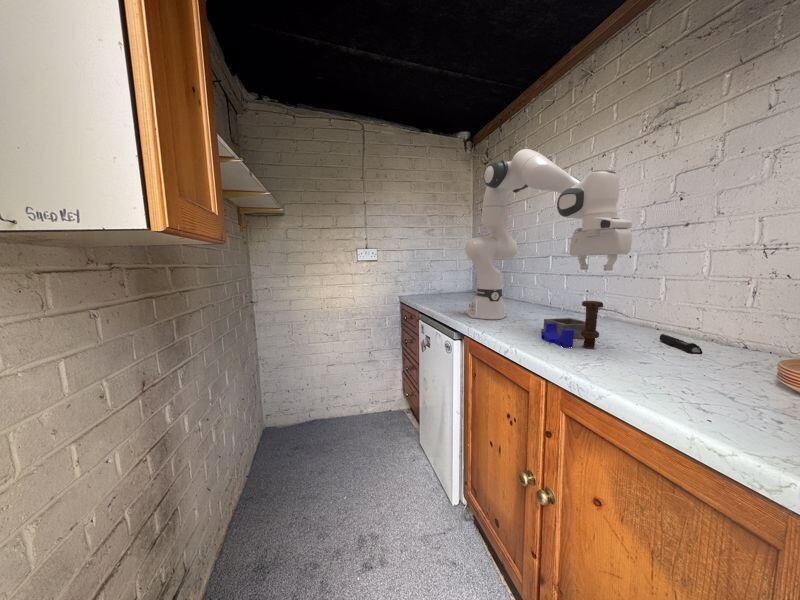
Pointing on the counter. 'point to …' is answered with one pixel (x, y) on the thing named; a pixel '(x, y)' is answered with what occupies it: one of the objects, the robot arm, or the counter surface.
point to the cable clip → (553, 336)
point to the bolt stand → (567, 325)
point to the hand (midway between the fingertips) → (595, 270)
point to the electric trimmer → (681, 344)
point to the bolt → (590, 323)
